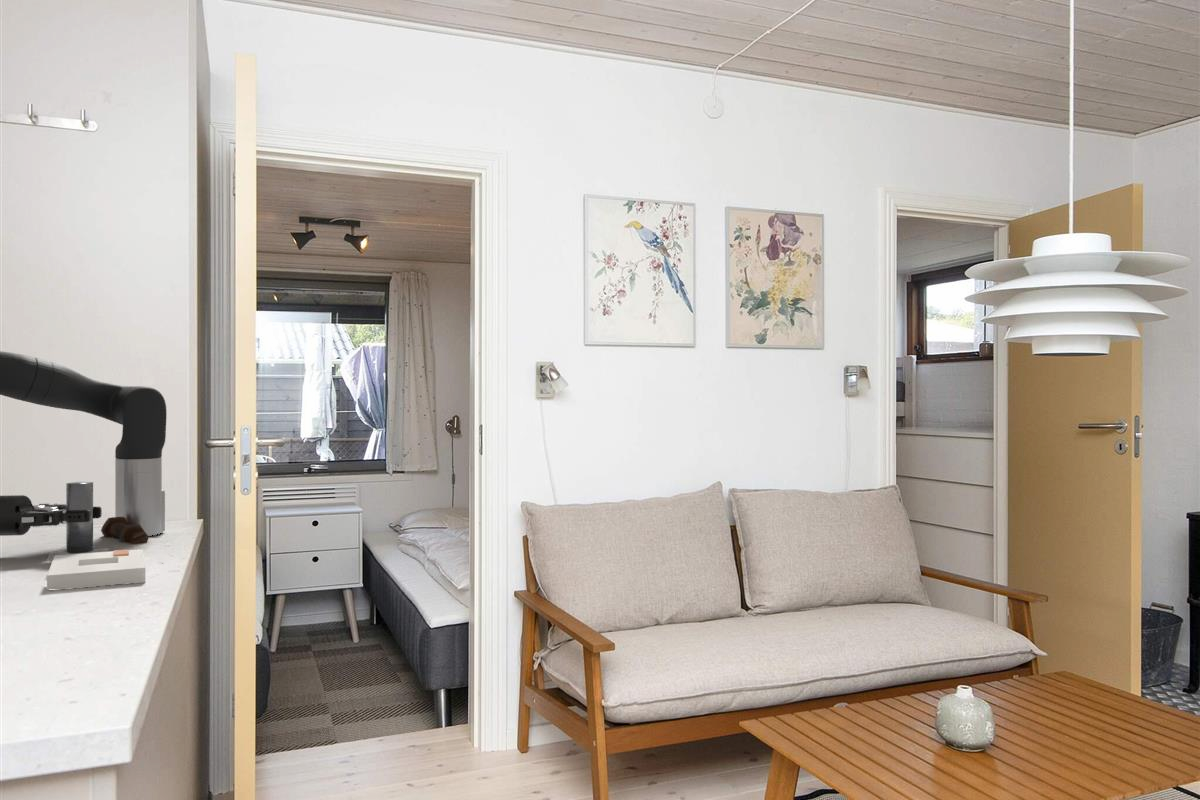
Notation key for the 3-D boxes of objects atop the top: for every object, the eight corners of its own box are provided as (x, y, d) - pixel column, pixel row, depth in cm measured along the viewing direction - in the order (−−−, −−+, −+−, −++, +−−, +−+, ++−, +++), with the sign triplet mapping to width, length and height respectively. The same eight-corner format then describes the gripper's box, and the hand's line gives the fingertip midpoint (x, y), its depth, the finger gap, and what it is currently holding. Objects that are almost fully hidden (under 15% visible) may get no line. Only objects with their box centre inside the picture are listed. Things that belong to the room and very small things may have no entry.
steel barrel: (80, 548, 171) (80, 481, 171) (98, 549, 170) (98, 482, 170) (60, 552, 167) (60, 483, 167) (79, 553, 166) (79, 484, 166)
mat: (49, 557, 170) (49, 552, 170) (109, 553, 175) (109, 547, 175) (46, 566, 162) (46, 560, 162) (108, 561, 166) (108, 556, 166)
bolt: (136, 557, 181) (110, 546, 191) (159, 543, 184) (132, 532, 194) (121, 534, 178) (96, 524, 189) (144, 520, 182) (118, 511, 192)
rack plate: (54, 569, 159) (54, 553, 159) (142, 562, 166) (142, 547, 166) (46, 591, 141) (46, 573, 141) (145, 582, 148) (145, 565, 148)
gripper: (-23, 500, 159) (79, 499, 162) (16, 491, 173) (110, 490, 176) (-23, 541, 159) (79, 539, 162) (16, 529, 173) (110, 528, 176)
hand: (94, 514), depth 169 cm, fingers closed on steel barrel, 4 cm apart
